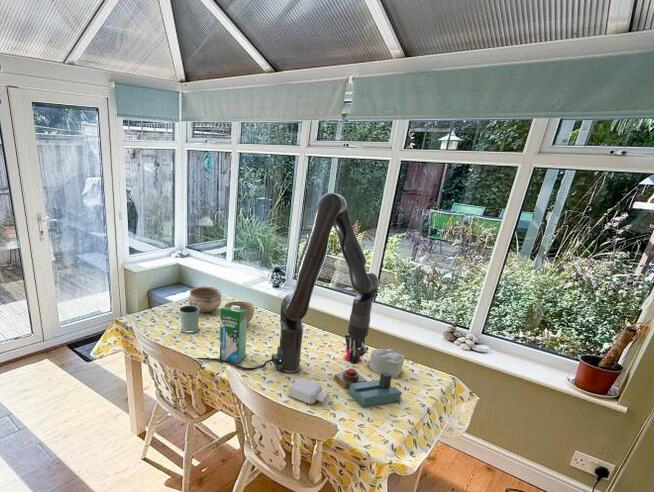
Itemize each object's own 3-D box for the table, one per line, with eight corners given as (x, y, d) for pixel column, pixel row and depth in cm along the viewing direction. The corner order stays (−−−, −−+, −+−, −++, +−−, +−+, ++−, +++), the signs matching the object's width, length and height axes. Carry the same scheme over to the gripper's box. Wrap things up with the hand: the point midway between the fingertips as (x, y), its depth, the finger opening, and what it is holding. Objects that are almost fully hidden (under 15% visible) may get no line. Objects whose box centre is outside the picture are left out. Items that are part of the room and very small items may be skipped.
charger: (325, 411, 151) (288, 396, 159) (335, 399, 158) (299, 386, 166) (326, 400, 149) (289, 386, 157) (336, 389, 156) (300, 376, 164)
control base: (363, 407, 154) (365, 396, 152) (348, 392, 162) (350, 382, 161) (399, 400, 158) (401, 390, 156) (383, 387, 166) (385, 377, 165)
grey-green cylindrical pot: (203, 329, 216) (203, 307, 212) (191, 335, 208) (191, 314, 204) (187, 324, 221) (187, 303, 217) (176, 331, 213) (175, 309, 209)
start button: (349, 376, 167) (350, 372, 166) (345, 372, 170) (346, 369, 169) (356, 375, 168) (357, 371, 167) (352, 371, 170) (353, 368, 170)
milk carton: (245, 355, 190) (247, 305, 180) (238, 363, 182) (239, 311, 173) (227, 351, 194) (228, 301, 184) (219, 359, 186) (220, 308, 176)
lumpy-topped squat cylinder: (395, 379, 172) (399, 361, 169) (365, 369, 179) (368, 351, 176) (403, 369, 179) (406, 352, 176) (373, 360, 187) (376, 343, 183)
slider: (382, 391, 158) (385, 376, 156) (378, 387, 161) (381, 372, 158) (389, 390, 159) (391, 375, 156) (384, 386, 161) (387, 371, 159)
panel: (344, 388, 165) (345, 379, 164) (334, 378, 172) (335, 370, 171) (366, 385, 168) (367, 376, 166) (355, 375, 175) (356, 367, 173)
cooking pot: (208, 301, 254) (208, 282, 249) (231, 309, 242) (231, 290, 237) (178, 312, 237) (177, 292, 233) (200, 321, 225) (200, 300, 221)
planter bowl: (234, 317, 232) (235, 299, 228) (259, 324, 223) (260, 305, 219) (217, 326, 220) (218, 307, 216) (243, 334, 211) (244, 314, 207)
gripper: (341, 317, 165) (336, 355, 171) (360, 331, 153) (354, 371, 159) (357, 315, 167) (351, 353, 173) (378, 329, 155) (371, 369, 161)
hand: (353, 362), depth 166 cm, fingers closed
